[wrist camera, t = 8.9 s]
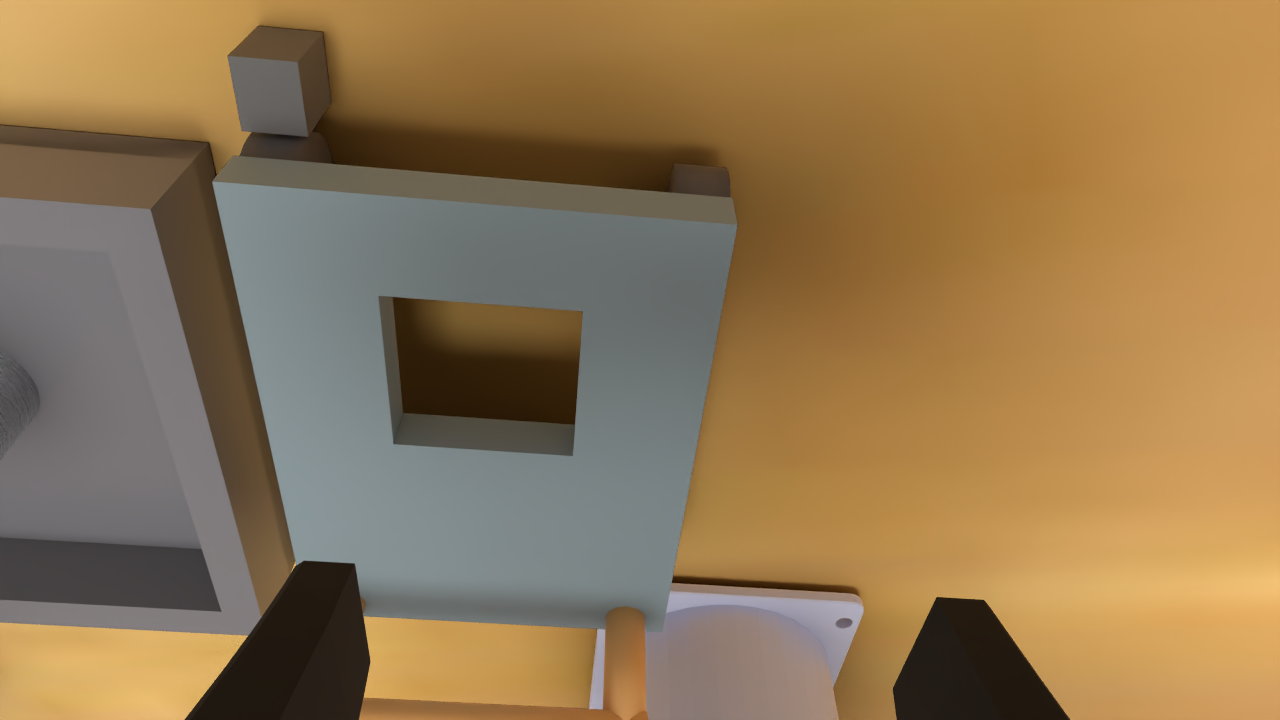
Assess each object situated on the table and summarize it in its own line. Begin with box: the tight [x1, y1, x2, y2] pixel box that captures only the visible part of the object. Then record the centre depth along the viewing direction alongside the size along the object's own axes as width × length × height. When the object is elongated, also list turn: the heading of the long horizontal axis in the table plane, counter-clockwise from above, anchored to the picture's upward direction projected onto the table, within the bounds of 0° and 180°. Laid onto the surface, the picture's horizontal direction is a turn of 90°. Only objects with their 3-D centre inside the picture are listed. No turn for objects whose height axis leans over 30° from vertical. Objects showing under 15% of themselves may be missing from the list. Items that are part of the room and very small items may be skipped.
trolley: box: [212, 26, 738, 720], centre depth 19 cm, size 14×9×7 cm
